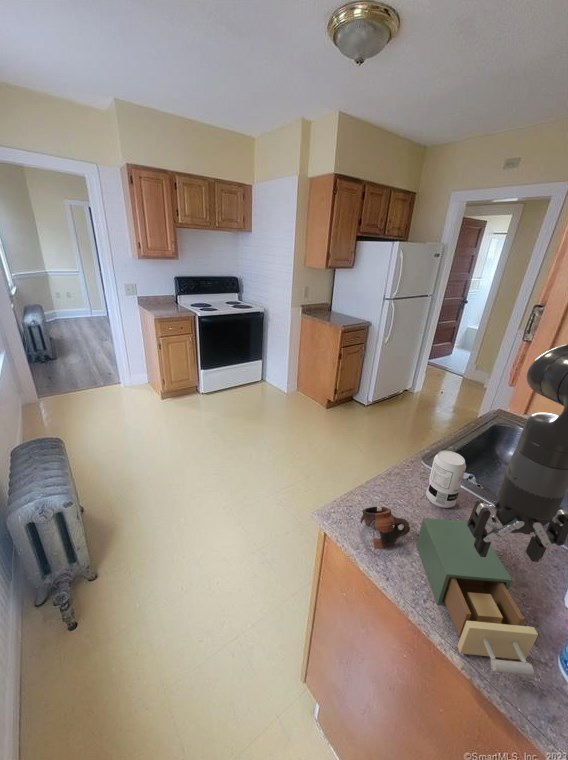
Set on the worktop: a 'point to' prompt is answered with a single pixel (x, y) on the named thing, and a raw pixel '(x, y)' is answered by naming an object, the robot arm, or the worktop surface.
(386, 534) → the pottery mug
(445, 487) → the supplement can
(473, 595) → the block
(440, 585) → the cabinet
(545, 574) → the worktop surface
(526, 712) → the worktop surface
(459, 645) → the drawer
